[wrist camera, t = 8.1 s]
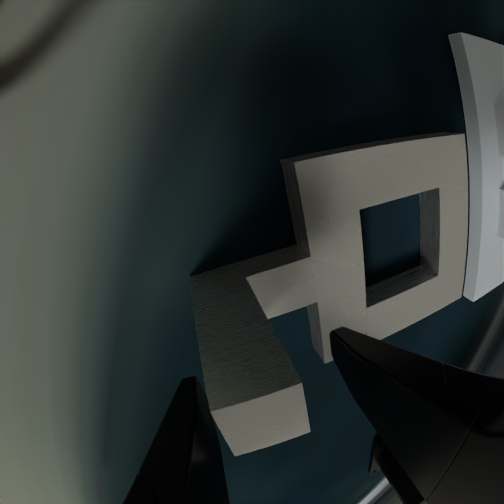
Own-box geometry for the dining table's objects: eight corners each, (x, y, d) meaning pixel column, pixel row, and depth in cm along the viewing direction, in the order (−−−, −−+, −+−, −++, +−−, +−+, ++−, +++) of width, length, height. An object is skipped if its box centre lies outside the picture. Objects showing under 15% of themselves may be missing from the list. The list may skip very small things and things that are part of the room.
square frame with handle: (225, 374, 14) (261, 499, 8) (162, 191, 11) (143, 262, 5) (444, 286, 16) (529, 344, 10) (443, 131, 13) (561, 149, 6)
